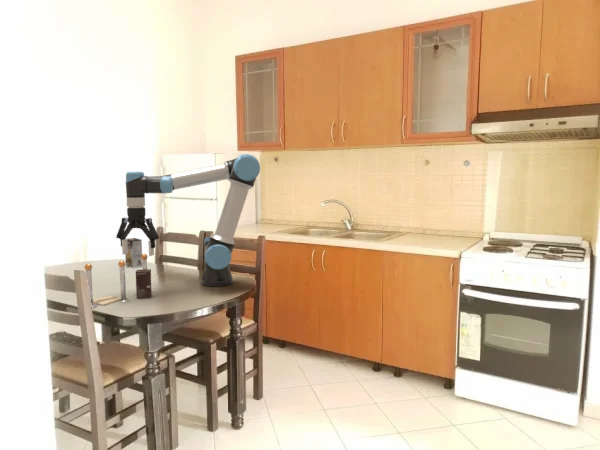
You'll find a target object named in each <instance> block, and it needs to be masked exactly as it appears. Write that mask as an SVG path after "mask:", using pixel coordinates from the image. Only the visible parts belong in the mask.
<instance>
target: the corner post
mask: <svg viewBox="0 0 600 450" xmlns="http://www.w3.org/2000/svg"><path fill="white" fill-rule="evenodd" d="M125 266H126V261H124V260H120V261H118V268H119V284H120V285H119V286H120V298H121V300H119V301H117V302H118V303H122V302H123V303H125V302H130V301H131V299H130V298H127V289H126V271H125V270H126V269H125Z"/></svg>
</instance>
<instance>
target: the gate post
mask: <svg viewBox="0 0 600 450" xmlns="http://www.w3.org/2000/svg"><path fill="white" fill-rule="evenodd" d="M148 257H149V255H148V254H146V253H142V255H141V259H142V266H141V268H142V269H148V262H147V261H148ZM142 269H141V270H142ZM151 291H152V289H151ZM152 292H153V291H152Z"/></svg>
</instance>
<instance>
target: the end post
mask: <svg viewBox="0 0 600 450" xmlns="http://www.w3.org/2000/svg"><path fill="white" fill-rule="evenodd" d="M92 269H93V265H92V264H91V263H86V264H85V265H84V270H85V277H86V276H87V280H88V286H89V292H90V297H91V303H92V308H91V309H94V308H97V307H98V305H97V304H94V303H93V300H94V294H93V279H92V278H93V277H92V274H93V273H92Z"/></svg>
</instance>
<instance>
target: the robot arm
mask: <svg viewBox="0 0 600 450" xmlns="http://www.w3.org/2000/svg"><path fill="white" fill-rule="evenodd" d="M260 172H261V164H260V162H259V160H258V159H257V157H255V156H253V155H251V154H248V153H245V154H240V155H239V156H237V157H235V158H233V159H230V160H225V161H224V163H222V164H217V165H210V166H207V167H200V168H196V169H195V168H194V169H192V170H186V171H180V172H176V173H171V174H165V175H157V176H156V175H153V176H152V175H151V176H148V175H147V176H146V175H145V173H144V172H143V171H127V172H126V174H125V191H126V192H125V193H126V207H127V208H126V209H127V210H126V214H127V217H122V218H121V223H120V226H119V228H118V231H117V233H116V236H115V238H117V239H119V240H120V247H121V248H122V249H121V252H122V253H121V254H122V255H125V254H128V246H127V239H128V238H127V237H128V236H129V234H130V233H131V231H132V230H133V229H140V230H141V231H142V232H143V233H144V234H145V236H146V237H147V238H148V240H149V241H147V242H148V257H152V256H155V248H156V241H157V240H160V236H159V234H158V232H157V230H156V228H155V225H154V223H153V218H152V217H150V218H146V207H145V206H146V197H145V196H146V194H164V195H165V194H171V193H173V191H175V190H180V189H185V188H186V189H187V188H191V187H195V186H200V185H205V184H211V183H215V182H221V181H224V180H227V181H228V182H230V186H229V189H228V192H227V195H226V198H225V201H224V204H223V207H222V209H221V210H222V211H221V213H220V216H219V219H218V222H217V226H216V229H215V232H214V233H213V234H212V235H210V236H208V237H205V238H204V241H203V245H204V270H203V273H202V278H201V285H203V286H204V287H205V286H206V287H223V286H229V285H231V284H233V283H234V279H233V278H234V277H233V275H232V272H231V269H230V263H231V261H232V257H233V256H232V254H233V251H234V248H235V244H236V243H235V241H234V237H235V234H236V231H237V228H238V225H239V221H240V218H241V214H242V212H243V210H244V209H243V208H244V205H245V203H246V200H247V198H248V197H247V196H248V194H249V191H250V189H253V188H254V186H255V182H256V180H257V177H259V175H260Z"/></svg>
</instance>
